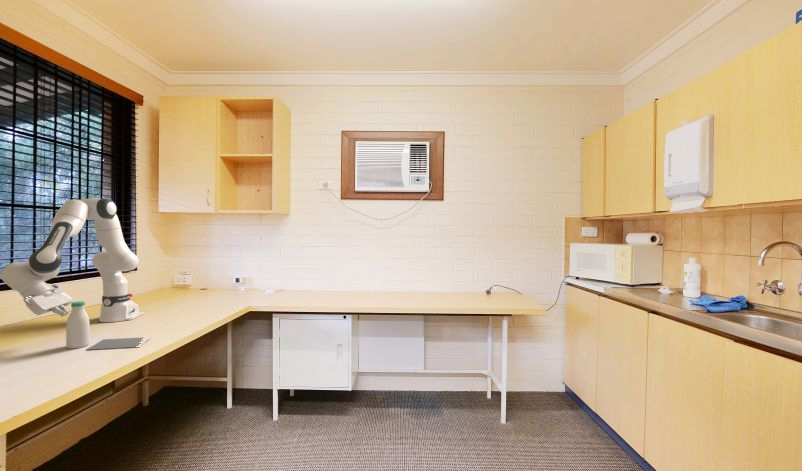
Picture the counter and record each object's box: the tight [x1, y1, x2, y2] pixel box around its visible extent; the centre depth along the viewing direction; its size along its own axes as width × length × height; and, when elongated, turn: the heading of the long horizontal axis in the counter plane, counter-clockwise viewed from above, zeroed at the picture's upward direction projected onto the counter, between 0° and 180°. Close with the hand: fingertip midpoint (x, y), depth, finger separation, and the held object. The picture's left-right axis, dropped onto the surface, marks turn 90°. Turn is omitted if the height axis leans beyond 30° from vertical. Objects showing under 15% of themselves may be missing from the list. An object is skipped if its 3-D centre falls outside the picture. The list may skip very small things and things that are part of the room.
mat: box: [85, 336, 145, 351], centre depth 165 cm, size 20×14×1 cm
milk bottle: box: [65, 300, 90, 349], centre depth 160 cm, size 8×8×20 cm
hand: (65, 314), depth 158 cm, fingers closed
